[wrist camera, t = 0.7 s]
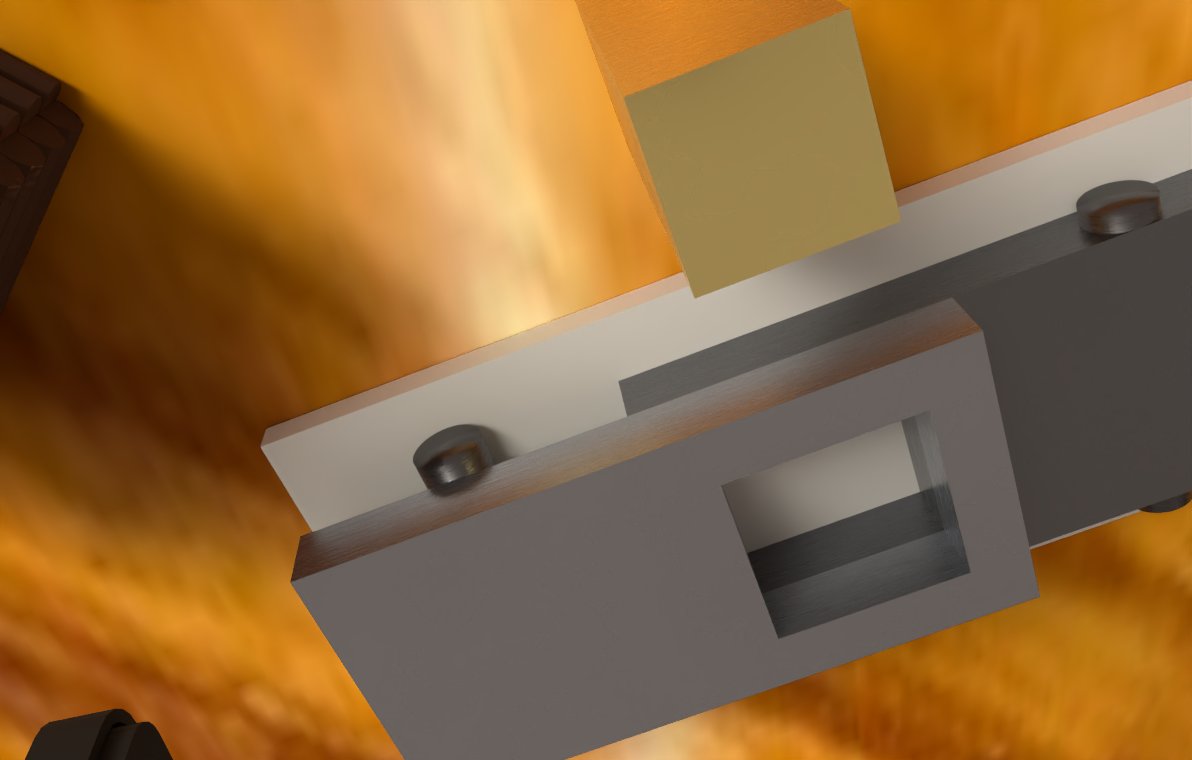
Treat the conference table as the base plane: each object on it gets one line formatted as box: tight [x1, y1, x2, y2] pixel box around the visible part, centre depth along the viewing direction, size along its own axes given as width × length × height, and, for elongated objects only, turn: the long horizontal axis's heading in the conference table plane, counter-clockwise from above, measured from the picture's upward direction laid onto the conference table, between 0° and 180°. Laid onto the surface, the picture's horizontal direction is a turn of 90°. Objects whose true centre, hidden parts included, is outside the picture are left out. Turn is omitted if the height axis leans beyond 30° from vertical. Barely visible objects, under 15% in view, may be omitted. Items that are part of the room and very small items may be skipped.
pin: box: [575, 0, 901, 298], centre depth 24 cm, size 4×4×10 cm
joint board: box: [260, 80, 1192, 553], centre depth 34 cm, size 29×13×1 cm, turn 110°
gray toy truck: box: [290, 169, 1192, 760], centre depth 32 cm, size 28×10×4 cm, turn 110°
